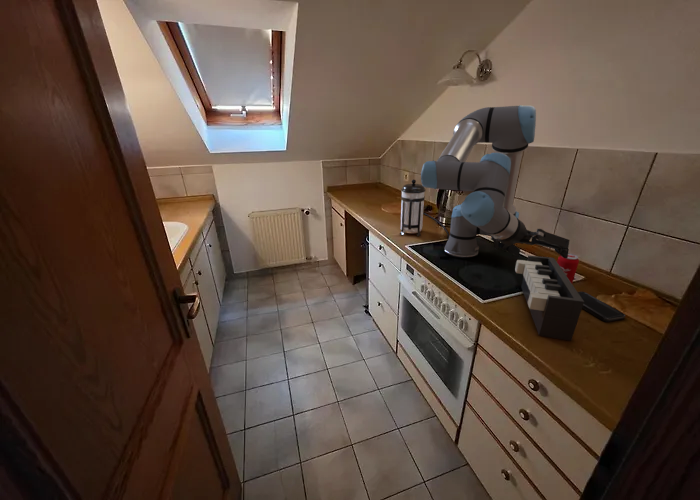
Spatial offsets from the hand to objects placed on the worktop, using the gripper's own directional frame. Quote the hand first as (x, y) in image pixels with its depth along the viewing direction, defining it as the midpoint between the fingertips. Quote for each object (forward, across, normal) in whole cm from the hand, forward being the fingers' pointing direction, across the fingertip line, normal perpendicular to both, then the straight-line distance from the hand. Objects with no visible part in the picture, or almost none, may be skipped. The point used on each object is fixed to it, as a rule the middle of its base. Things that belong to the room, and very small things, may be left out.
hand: (541, 253), depth 91 cm
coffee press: (+17, -78, +16) cm, 81 cm away
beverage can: (+31, -6, -2) cm, 32 cm away
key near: (0, +3, -17) cm, 17 cm away
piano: (+13, -3, -15) cm, 20 cm away
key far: (+13, -10, -3) cm, 17 cm away
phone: (+26, +6, -10) cm, 29 cm away
